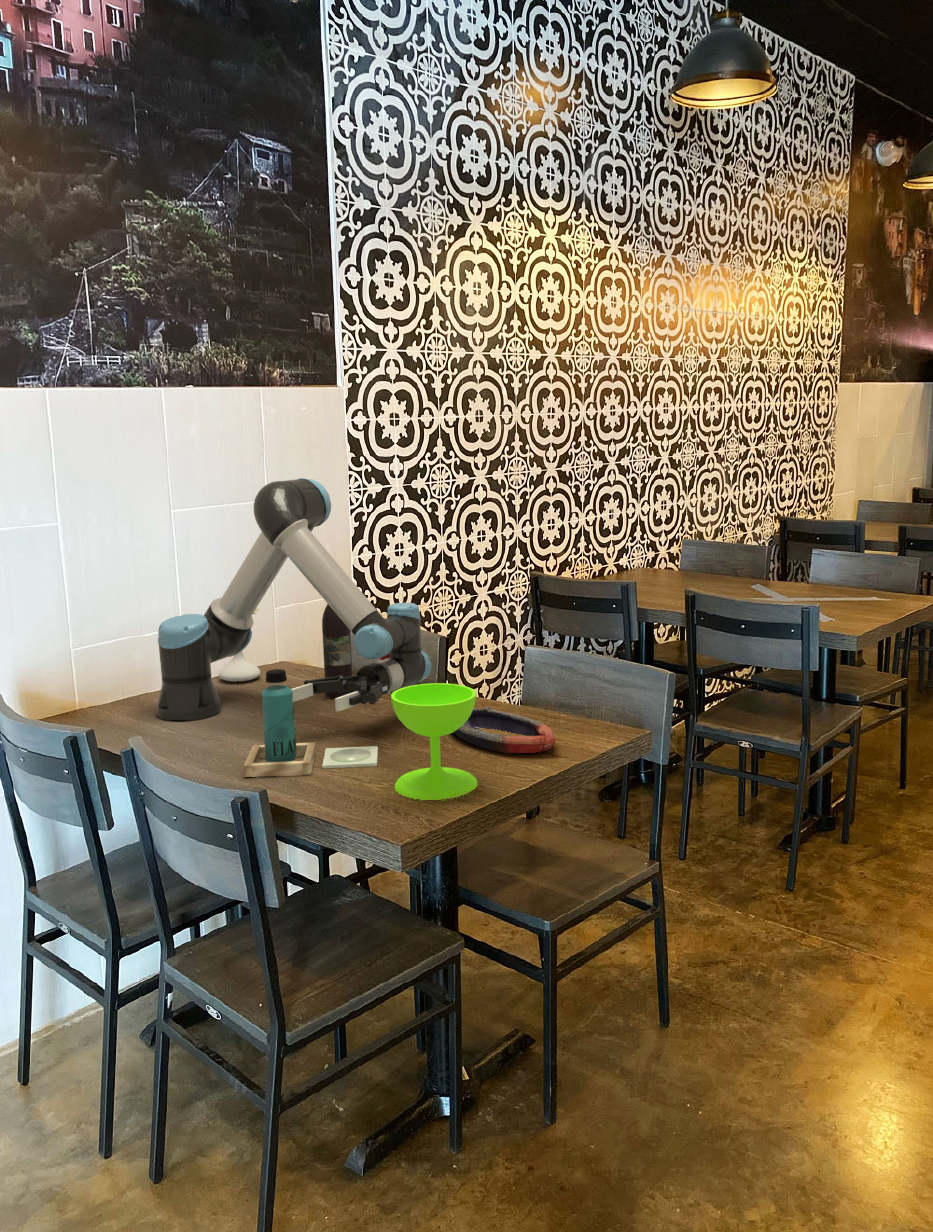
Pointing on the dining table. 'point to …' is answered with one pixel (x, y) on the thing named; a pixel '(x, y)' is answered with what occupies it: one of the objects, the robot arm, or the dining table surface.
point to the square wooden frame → (280, 768)
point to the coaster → (350, 757)
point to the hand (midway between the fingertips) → (312, 700)
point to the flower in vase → (239, 668)
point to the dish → (534, 731)
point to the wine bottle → (336, 648)
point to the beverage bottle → (278, 719)
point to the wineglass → (434, 736)
